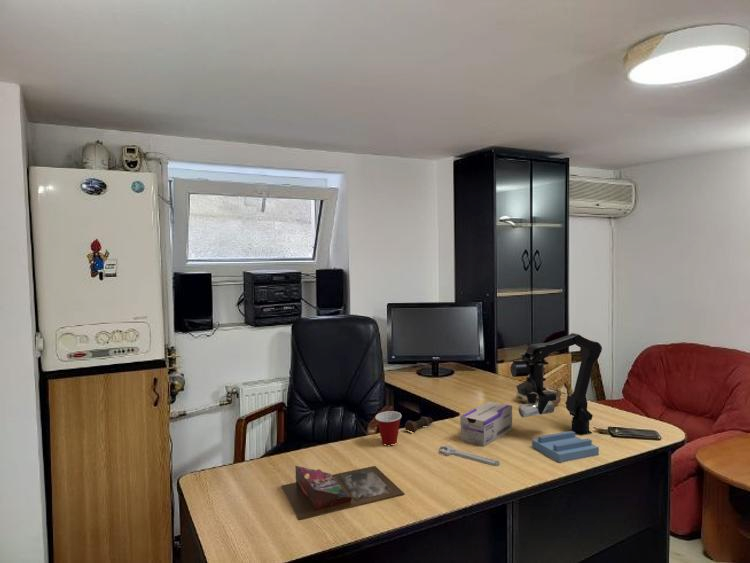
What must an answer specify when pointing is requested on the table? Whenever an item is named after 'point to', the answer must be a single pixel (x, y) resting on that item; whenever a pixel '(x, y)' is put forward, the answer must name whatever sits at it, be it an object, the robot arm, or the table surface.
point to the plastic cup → (388, 426)
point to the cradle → (565, 446)
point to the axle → (534, 409)
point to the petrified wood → (524, 398)
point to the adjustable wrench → (467, 455)
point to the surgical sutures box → (486, 423)
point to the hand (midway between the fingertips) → (536, 412)
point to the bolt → (418, 423)
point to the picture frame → (337, 490)
